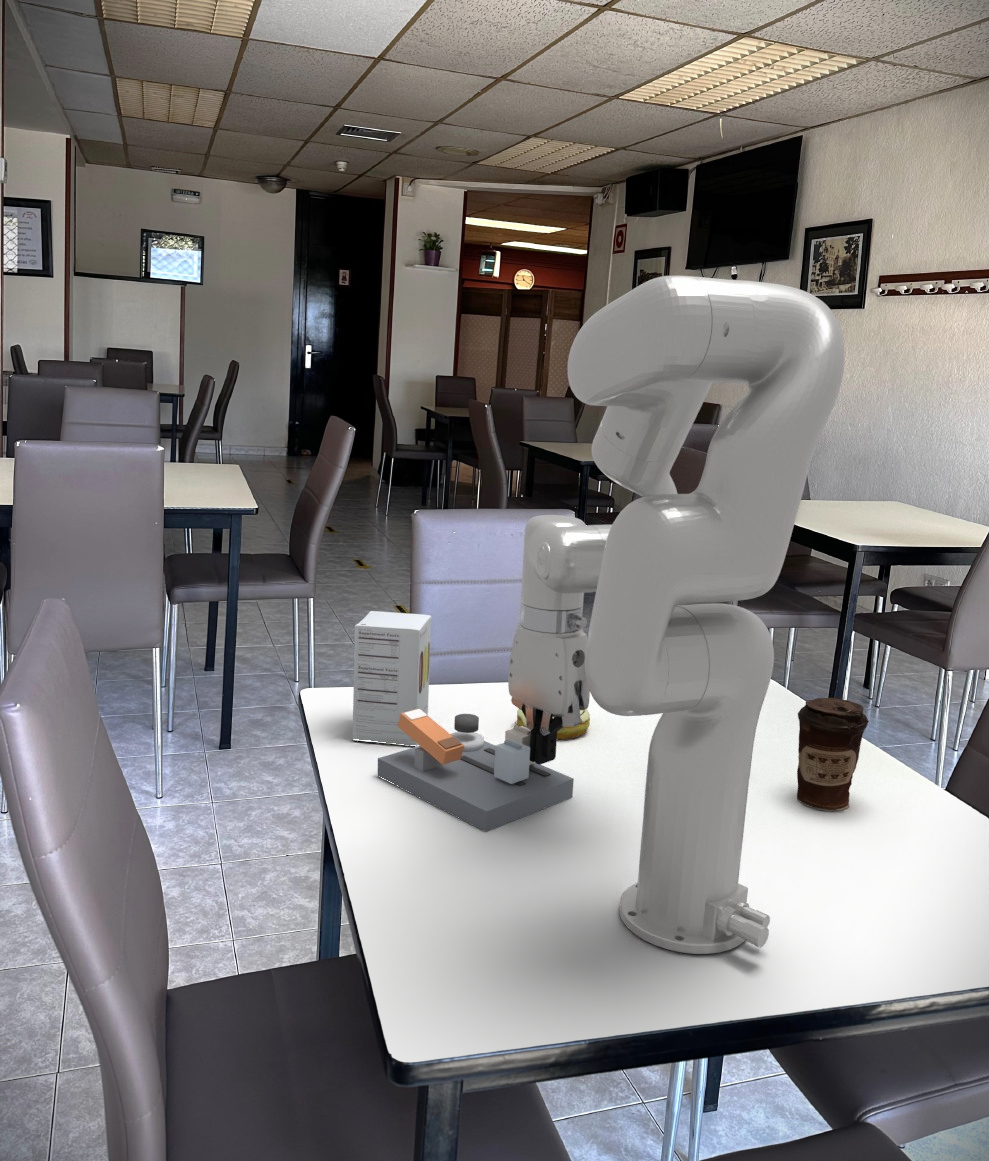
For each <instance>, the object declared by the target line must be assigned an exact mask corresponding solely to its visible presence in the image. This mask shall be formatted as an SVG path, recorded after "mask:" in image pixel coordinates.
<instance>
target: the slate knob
mask: <svg viewBox="0 0 989 1161" xmlns="http://www.w3.org/2000/svg"><path fill="white" fill-rule="evenodd" d="M529 760H530V747H529V746H526V745H524V744H521V743H519V742H516V741H514V740H511V741H509V740H506V741H505V740H504V742H502V743H500V744H496V745H495V764H494V777H497V778H499V779H501V780H503V781H505V782H508V783H510V784H513V783H516V782H519V781H521V780H524V779H527V778H529Z"/></svg>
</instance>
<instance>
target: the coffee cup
mask: <svg viewBox="0 0 989 1161" xmlns="http://www.w3.org/2000/svg"><path fill="white" fill-rule="evenodd" d="M797 718H798V723H799V724H798V725H799V730H798V750H797V751H798V757H797V758H798V764H797V768H796V769H797V770H796V777H797V793H796V799H797V801H798V802H800V803H801V804H802V805H804V806H807V807H808V808H809V807H810V808H814V809H815V810H821V811H830V812H831V811H832V812H833V811H842V810H843V811H844V810H846V809H848V808H850V794H851V793H850V789H851V786H852V780H853V777H854V776H853V775H854V773H855V771H856V768H857V764H858V762H859V756H860V750H861V744H862V740H863V734H864V733H865V730H866V728H867V727H868V725H869V721H870V720H868V717H867V715H866V714H864V706H863V705H861V704H860V703H857V702H854V701H850V700H848V699H842V698H835V697H817V698H814V699H808V700H806V701H805V705H804V706H803V707H801V708H800V710H799V711H798V712H797Z"/></svg>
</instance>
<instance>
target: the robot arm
mask: <svg viewBox="0 0 989 1161" xmlns="http://www.w3.org/2000/svg"><path fill="white" fill-rule="evenodd" d="M845 357H846V355H845V342H844V338H843V333H842V331H841V327H840V324H839V322H838V319H837V318H836V316H835V314H834V313H833V311H832V310H831V308H830V307H829V306H828V305H827V304H826V303H825V302H824V301H823V300H821V299H820V298H818V297H816V296H815V295H814V294H812V293H809V292H808V291H805V290H802V289H800V288H796V287H794V286H788V285H784V284H779V283H772V282H771V283H770V282H764V281H755V280H754V281H753V280H741V279H725V278H715V277H714V278H713V277H703V276H693V275H664V276H658V277H655V278H652V279H649V280H648V281H647V280H646V281H645V282H643V283H642V284H639V285H638V286H636V287H634V288H632V289H631V290H630V291H628V292H626V293H624V294H623V295H621V296H619V297H618V298H616V299H615V300H613V301H611V302H609V303H608V304H606V305H604V307H601V309H599V310H598V311H596V312H594V313H593V315H591V316H590V317H589V318H588V320H586V321H585V323H584V324H583V325H582V326H581V328H580V329H579V330H578V331H577V334H576V336H575V337H574V340H573V342H572V345H571V347H570V350H569V354H568V358H567V359H568V360H567V379H568V384H569V387H570V389H571V391H572V393H573V395H574V396H575V397H576V398H577V399H578V400H579V401H580V402H581V403H583V404H586V405H588V406H595V407H596V406H598V407H601V406H602V407H606V409H605V411H604V414H603V416H602V419H601V421H600V423H599V426H598V428H597V431H596V432H595V436H594V437H593V440H592V444H591V456H592V459H593V461H594V464H595V465H596V466H597V469H599V470H600V471H601V472H602V474H604V475H605V476H606V477H607V478H608V479H609V480H611V481H612V482H614V483H616V484H617V485H619V486H621V487H622V488H624V489H627V490H629V491H631V492H633V493H635V494H637V495H639V496H640V498H637V499H634V500H633V501H631V502H630V503H628V504H626V506H625V507H623V509H622V510H620V512H619V514H618V515H617V516H616V518H615V519H614V521H613V522H612V524H588V525H587V524H586V523H585V522H584V521H583V520H582V519H580V518H577V517H574V516H568V515H560V514H559V515H558V514H543V515H542V514H541V515H537V516H533V517H531V518H529V519H528V521H527V522H526V524H525V527H524V536H523V537H524V538H523V554H522V555H523V556H522V572H521V573H522V575H521V592H520V593H521V594H520V609H519V610H520V611H519V623H517V624H516V627H515V628H516V629H515V631H514V636H513V640H512V645H511V652H510V658H509V666H508V680H507V681H508V693H509V695H510V697H511V699H510V701H511V704H512V705H513V706H514V707H515V708H517V709H520V710H522V712H523V714H524V716H525V718H526V725H527V728H528V729H529V730H531V732H530V761H532V762H535V763H536V764H539V765H543V764H546V763H549V762H552V761H554V760H555V759H556V757H557V756H556V754H557V744H558V739H557V732H558V731H560V730H562V728H563V727H574V726H577V725H580V724H581V717H580V710H585V709H587V710H588V708H589V704H590V696H592V699H593V700H594V701H595V702H596V704H597V705H598V706H599V707H600V708H601V709H602V710H604V711H605V712H607V713H610V714H613V715H616V716H622V717H641V716H651V715H659V714H661V716H660V717H659V719H658V721H657V723H656V726H655V728H654V731H653V733H652V736H651V739H650V743H649V749H648V759H647V767H646V778H645V789H644V790H645V791H644V802H643V815H642V826H641V828H642V829H641V838H640V850H639V860H638V861H639V863H638V875H637V882H635V883H634V884H632V885H630V886H629V887H627V889H626V890H624V892H623V893H622V895H621V897H620V903H619V915H620V918H621V920H622V922H623V923H624V924H625V926H626V927H627V929H628V930H630V931H631V933H632V934H634V935H636V936H637V937H639V938H640V939H642V940H644V941H645V942H647V943H649V944H652V945H654V946H657V947H660V948H662V949H666V950H667V951H669V950H670V951H673V952H676V953H677V952H678V953H681V954H691V955H692V954H693V955H710V954H718V953H724V952H726V951H729V950H732V949H734V948H737V947H739V946H740V945H742V944H743V943H744V942H748V943H749V944H751V945H754V946H755V947H757V948H758V949H761V948H762V947H764V946H765V945H766V943H767V941H768V939H769V934H770V930H769V928H768V927H769V926H770V923H771V922H770V921H771V917H770V915H769V914H767V913H764V912H763V911H759V910H757V909H754V908H752V907H750V903H748V895H749V894H748V893H749V888H748V887H747V886H746V885H743V884H741V883H739V879H740V871H741V870H740V869H741V862H742V861H741V860H742V851H743V849H742V848H743V841H744V833H745V832H744V831H745V821H746V813H747V811H746V810H747V804H748V793H749V786H750V785H749V784H750V778H751V770H752V769H751V768H752V760H753V759H752V758H753V753H754V752H753V751H754V744H755V738H756V731H757V727H758V722H759V718H760V715H761V714H760V713H761V711H762V708H763V705H764V701H765V698H766V695H767V693H768V689H769V685H770V682H771V678H772V676H773V670H774V662H775V650H774V643H773V639H772V636H771V634H770V631H769V629H768V627H767V625H766V624H765V623H764V622H763V620H761V618H760V617H759V616H758V615H756V614H755V613H754V612H752V611H751V610H749V609H746V608H745V607H741V606H738V605H734V604H729V603H727V602H735V601H736V602H737V601H744V600H746V601H747V600H751V599H756V598H758V597H761V596H763V595H765V594H766V593H768V592H769V591H770V590H771V589H772V588H773V587H774V585H776V582H777V581H778V579H779V576H780V574H781V570H782V568H783V565H784V562H785V559H786V555H787V552H788V548H789V544H790V541H791V537H792V533H793V531H794V530H793V529H794V526H795V523H796V520H797V516H798V511H799V507H800V504H801V501H802V497H803V494H804V490H805V486H806V482H807V477H808V473H809V471H810V470H809V469H810V466H811V464H812V463H811V462H812V459H813V456H814V454H815V451H816V449H817V446H818V444H819V442H820V441H819V440H820V439H821V436H822V433H823V432H824V429H825V427H826V425H827V423H828V421H829V418H830V416H831V414H832V411H833V409H834V406H835V404H836V402H837V398H838V396H839V392H840V389H841V385H842V382H843V377H844V376H843V375H844V370H845ZM713 384H745V385H746V386H747V387H748V391H747V393H746V394H745V395H744V396H743V397H742V398H741V399H740V400H738V402H737V403H736V404H735V405H734V406H733V407H732V408H731V409H730V410H729V412H728V413H727V414H726V415H725V416H724V419H723V420H722V422H721V423H720V424H719V426H718V427H717V428H716V430H715V432H714V434H713V436H712V438H711V440H710V443H709V445H708V450H707V453H706V459H705V464H704V467H703V468H704V469H703V471H702V475H701V478H700V480H699V482H698V486H697V487H696V488H695V489H694V490H693V491H692V492H690V493H678V491H677V488H676V485H675V482H674V481H673V478H672V477H671V474H670V472H671V471H672V469H673V468H672V467H673V466H674V463H675V462H676V460H677V458H678V455H679V454H680V451H681V449H682V447H683V445H684V443H685V441H686V439H687V437H688V434H689V432H690V430H691V429H692V426H693V424H694V422H695V421H696V418H697V416H698V413H699V412H700V410H701V408H702V406H703V403H704V402H705V399H706V397H707V395H708V393H709V391H710V390H711V387H712V385H713ZM586 593H595V596H594V601H593V606H592V612H591V616H590V621H589V627H588V632H587V633H586V632H584V631H582V629H585V628H586V627H587V624H588V620H587V618H586V617H583V609H584V598H585V597H584V596H585V594H586ZM725 602H726V603H725ZM553 717H554V718H553Z"/></svg>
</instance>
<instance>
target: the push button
mask: <svg viewBox="0 0 989 1161" xmlns="http://www.w3.org/2000/svg"><path fill="white" fill-rule="evenodd" d="M479 721H480V717H479V716H477V715H476V714H472V713H459V714H457V715H455V716H454V723H453V724H454V728H453V729H454V730H455V731H456V732H462V733H473V732H475V733H477V732H478V731H479V726H480V725H479V723H480V722H479Z"/></svg>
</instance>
